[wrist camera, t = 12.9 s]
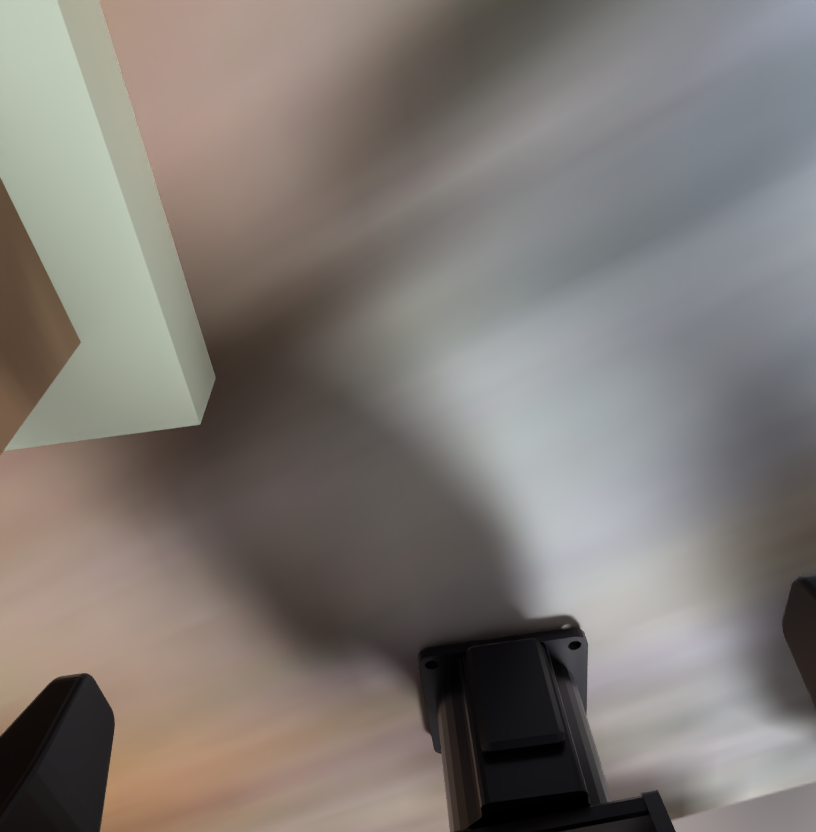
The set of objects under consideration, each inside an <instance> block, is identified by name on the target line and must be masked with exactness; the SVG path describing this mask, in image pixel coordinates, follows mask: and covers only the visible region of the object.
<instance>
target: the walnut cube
mask: <svg viewBox="0 0 816 832" xmlns="http://www.w3.org/2000/svg"><path fill="white" fill-rule="evenodd" d="M80 343H81V341H80V339H79V337H78V335H77V333H76V331H75V329H74V327H73V325H72V323H71V321H70V319H69V317H68V315H67V313H66V311H65V309H64V307H63V305H62V302H61V300H60V298H59V296H58V294H57V292H56V290H55V288H54V286H53V284H52V282H51V280H50V278H49V276H48V274H47V272H46V270H45V268H44V266H43V264H42V262H41V259H40V257H39V255H38V253H37V251H36V249H35V247H34V245H33V243H32V241H31V239H30V237H29V235H28V233H27V231H26V229H25V227H24V225H23V223H22V221H21V219H20V217H19V215H18V212H17V210H16V208H15V206H14V204H13V202H12V200H11V198H10V196H9V194H8V192H7V190H6V188H5V186H4V184H3V182H2V180H1V178H0V455H1V453H2V452H3V451H4V449H5V448H6V446H7V445H8V444H9V442H10V441H11V440H12V438H13V437H14V435H15V434H16V433H17V431H18V430H19V428H20V427H21V426H22V424H23V423H24V421H25V420H26V419H27V417H28V416H29V414H30V413H31V412H32V410H33V409H34V407H35V406H36V405H37V403H38V402H39V400H40V399H41V398H42V396H43V395H44V393H45V392H46V391H47V389H48V388H49V387H50V385H51V384H52V382H53V381H54V380H55V378H56V377H57V375H58V374H59V373H60V371H61V370H62V368H63V367H64V366H65V364H66V363H67V361H68V360H69V359H70V357H71V356H72V354H73V353H74V352H75V350H76V349H77V347H78V346H79V345H80Z"/></svg>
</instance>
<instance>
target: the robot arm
mask: <svg viewBox="0 0 816 832" xmlns="http://www.w3.org/2000/svg"><path fill="white" fill-rule="evenodd" d="M782 627H783V632H784V636H785V638H786V641H787V643H788V646H789V648H790V650H791V653H792V655H793V657H794V660H795V662H796V664H797V667H798V669H799V671H800V673H801V676H802V678H803V680H804V683H805V685H806V687H807V690H808V692H809V694H810V697H811V699H812V701H813V704H814V706H815V708H816V574H809V575H802V576H798V577H796V578H795V579H794V580H793V581H792V583H791V586H790V590H789V594H788V598H787V602H786V606H785V610H784V614H783V619H782ZM587 659H588V643H587V639H586V637H585V634H584V632H583V631H582V630H580V629H577V628H572V629H565V630H557V631H550V632H542V633H535V634H528V635H520V636H513V637H506V638H498V639H491V640H484V641H476V642H469V643H462V644H454V645H447V646H439V647H432V648H427V649H424V650H422V651H421V652H420V653H419V655H418V663H419V670H420V676H421V681H422V687H423V692H424V697H425V703H426V708H427V714H428V719H429V724H430V730H431V735H432V741H433V746H434V750H435V751H436V752H437V753H440V754H442V762H443V772H444V781H445V790H446V799H447V808H448V817H449V827H450V832H676V831H675V829H674V827H673V825H672V822H671V820H670V818H669V815H668V813H667V811H666V808H665V806H664V804H663V801H662V799H661V797H660V794H659V792H658V790H652V791H647V792H642V793H641V796H638V797H632V798H627V799H622V800H617V801H612V798H611V795H610V792H609V788H608V785H607V782H606V779H605V775H604V772H603V769H602V766H601V762H600V759H599V756H598V752H597V749H596V746H595V743H594V739H593V736H592V733H591V730H590V726H589V723H588V720H587V716H586V708H587ZM114 727H115V721H114V715H113V711H112V709H111V707H110V705H109V703H108V702H107V700H106V698H105V697H104V695H103V693H102V692H101V690H100V688H99V686H98V685H97V683H96V681H95V680H94V678H93V677H92V676H91V675H89V674H87V673H82V674H74V675H67V676H61V677H58V678H56V679H54V680H53V681H52V682H50V683H49V684H48V685H47V686H46V687H45V689H44V690H43V691H42V692H41V693H40V694H39V695H38V696H37V697H36V698H35V699H34V700H33V701H32V703H31V704H30V705H29V706H28V707H27V708H26V709H25V710H24V711H23V712H22V713H21V714H20V716H19V717H18V718H17V719H16V720H15V721H14V722H13V723H12V724H11V725H10V726H9V727H8V728H7V730H6V731H5V732H4V733H3V734H2V735H1V736H0V832H100V828H101V821H102V814H103V807H104V800H105V793H106V786H107V778H108V771H109V764H110V757H111V750H112V743H113V735H114Z"/></svg>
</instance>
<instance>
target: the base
mask: <svg viewBox="0 0 816 832" xmlns="http://www.w3.org/2000/svg"><path fill="white" fill-rule="evenodd" d="M0 178H1V180H2V182H3V184H4V186H5V188H6V190H7V192H8V194H9V196H10V198H11V200H12V202H13V204H14V206H15V208H16V210H17V212H18V215H19V217H20V219H21V221H22V223H23V225H24V227H25V229H26V231H27V233H28V235H29V237H30V239H31V241H32V243H33V245H34V247H35V249H36V251H37V253H38V255H39V257H40V259H41V262H42V264H43V266H44V268H45V270H46V272H47V274H48V276H49V278H50V280H51V282H52V284H53V286H54V288H55V290H56V292H57V294H58V296H59V298H60V300H61V302H62V305H63V307H64V309H65V311H66V313H67V315H68V317H69V319H70V321H71V323H72V325H73V327H74V329H75V331H76V333H77V335H78V337H79V339H80V341H81V343H80V345H79V346H78V347H77V349H76V350H75V352H74V353H73V354H72V356H71V357H70V359H69V360H68V361H67V363H66V364H65V366H64V367H63V368H62V370H61V371H60V373H59V374H58V375H57V377H56V378H55V380H54V381H53V382H52V384H51V385H50V387H49V388H48V389H47V391H46V392H45V393H44V395H43V396H42V398H41V399H40V400H39V402H38V403H37V405H36V406H35V407H34V409H33V410H32V412H31V413H30V414H29V416H28V417H27V419H26V420H25V421H24V423H23V424H22V426H21V427H20V428H19V430H18V431H17V433H16V434H15V435H14V437H13V438H12V440H11V441H10V442H9V444H8V445H7V446H6V448H5V449H4V451H7V450H15V449H22V448H30V447H37V446H45V445H52V444H60V443H67V442H75V441H82V440H90V439H97V438H105V437H112V436H120V435H127V434H134V433H142V432H149V431H157V430H164V429H172V428H179V427H187V426H194V425H200V424H201V421H202V418H203V415H204V412H205V409H206V406H207V403H208V400H209V397H210V394H211V391H212V388H213V385H214V382H215V379H216V377H215V374H214V371H213V367H212V364H211V361H210V358H209V354H208V351H207V348H206V345H205V342H204V338H203V335H202V332H201V329H200V325H199V322H198V319H197V316H196V312H195V309H194V306H193V303H192V299H191V296H190V293H189V290H188V287H187V283H186V280H185V277H184V274H183V270H182V267H181V264H180V261H179V257H178V254H177V251H176V248H175V244H174V241H173V238H172V235H171V232H170V228H169V225H168V222H167V219H166V215H165V212H164V209H163V206H162V202H161V199H160V196H159V193H158V189H157V186H156V183H155V180H154V176H153V173H152V170H151V167H150V164H149V160H148V157H147V154H146V151H145V147H144V144H143V141H142V138H141V134H140V131H139V128H138V125H137V121H136V118H135V115H134V112H133V109H132V105H131V102H130V99H129V96H128V92H127V89H126V86H125V83H124V79H123V76H122V73H121V70H120V66H119V63H118V60H117V57H116V53H115V50H114V47H113V44H112V41H111V37H110V34H109V31H108V28H107V24H106V21H105V18H104V15H103V11H102V8H101V5H100V2H99V0H0Z"/></svg>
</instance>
